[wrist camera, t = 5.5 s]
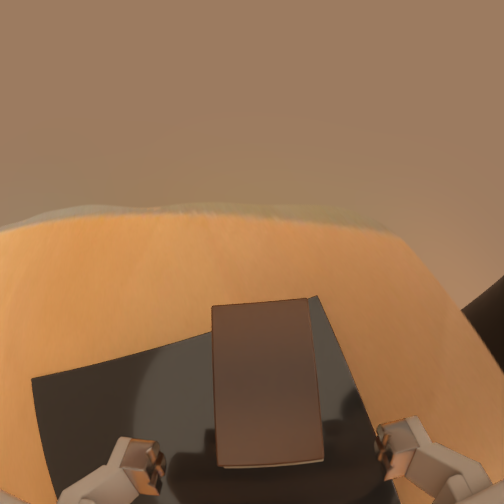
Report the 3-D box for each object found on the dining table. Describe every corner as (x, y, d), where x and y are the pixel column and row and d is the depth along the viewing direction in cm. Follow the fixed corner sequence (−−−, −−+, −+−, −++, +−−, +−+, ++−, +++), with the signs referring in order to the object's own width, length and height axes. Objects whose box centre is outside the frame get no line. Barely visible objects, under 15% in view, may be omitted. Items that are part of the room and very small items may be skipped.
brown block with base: (224, 334, 19) (193, 281, 12) (305, 328, 19) (322, 271, 12) (230, 462, 15) (198, 491, 8) (317, 455, 15) (346, 481, 8)
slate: (316, 297, 20) (317, 294, 20) (405, 521, 12) (408, 523, 12) (34, 379, 18) (30, 378, 18) (95, 579, 10) (92, 581, 9)
